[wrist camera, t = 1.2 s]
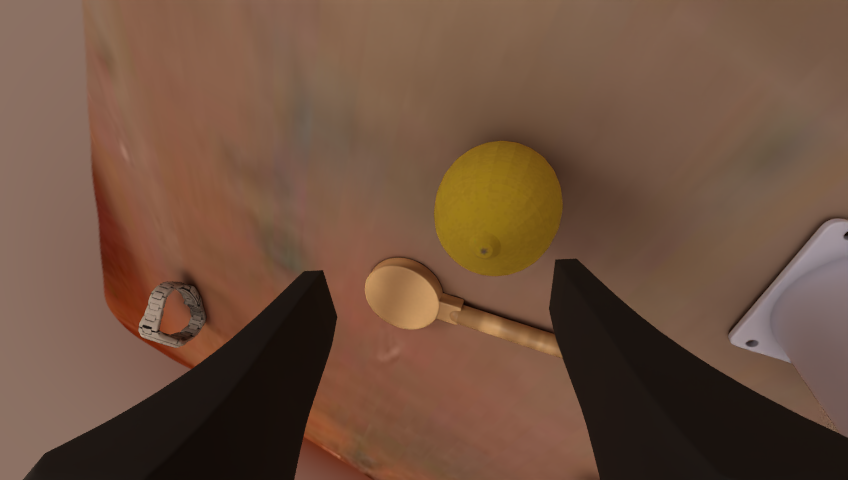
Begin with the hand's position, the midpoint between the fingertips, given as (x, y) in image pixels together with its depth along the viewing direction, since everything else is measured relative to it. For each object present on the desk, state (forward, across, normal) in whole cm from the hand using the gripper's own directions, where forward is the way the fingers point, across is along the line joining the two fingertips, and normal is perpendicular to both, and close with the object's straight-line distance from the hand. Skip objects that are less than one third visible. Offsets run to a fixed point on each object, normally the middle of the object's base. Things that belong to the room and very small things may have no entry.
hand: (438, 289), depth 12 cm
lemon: (+10, -4, +1) cm, 11 cm away
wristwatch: (+16, +24, +14) cm, 32 cm away
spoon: (+9, -3, +11) cm, 15 cm away
